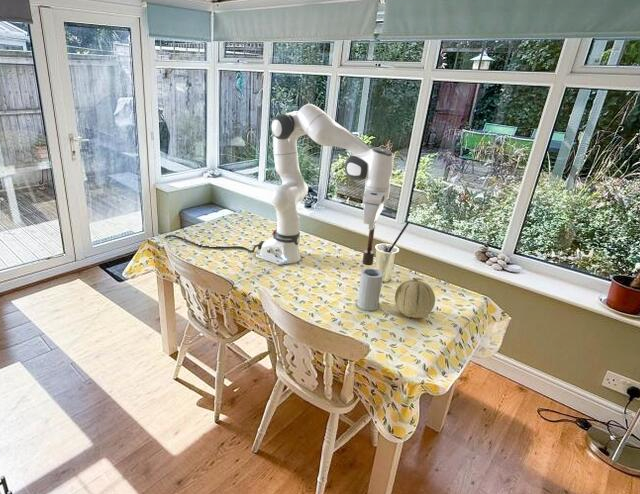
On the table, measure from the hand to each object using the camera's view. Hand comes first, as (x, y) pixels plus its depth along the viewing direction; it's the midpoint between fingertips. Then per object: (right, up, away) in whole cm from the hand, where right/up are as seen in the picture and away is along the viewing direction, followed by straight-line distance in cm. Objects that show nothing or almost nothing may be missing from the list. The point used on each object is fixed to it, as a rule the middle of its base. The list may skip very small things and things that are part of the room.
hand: (372, 227), depth 157 cm
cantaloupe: (+17, -34, +5) cm, 39 cm away
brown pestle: (0, -14, +6) cm, 15 cm away
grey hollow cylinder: (+1, -31, +11) cm, 33 cm away
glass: (+15, -23, +31) cm, 42 cm away
